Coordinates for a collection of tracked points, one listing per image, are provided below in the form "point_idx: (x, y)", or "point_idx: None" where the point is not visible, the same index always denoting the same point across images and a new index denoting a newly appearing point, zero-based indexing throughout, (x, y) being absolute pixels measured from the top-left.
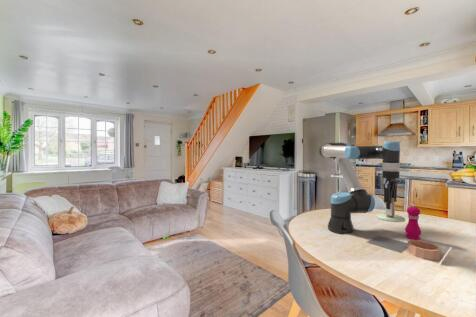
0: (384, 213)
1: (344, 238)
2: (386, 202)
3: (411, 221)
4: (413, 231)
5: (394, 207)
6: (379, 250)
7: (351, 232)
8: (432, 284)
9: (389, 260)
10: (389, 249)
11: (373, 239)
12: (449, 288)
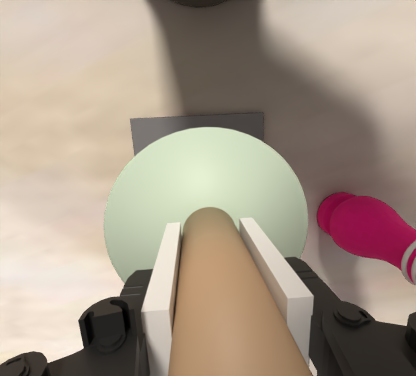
0: (282, 161)
1: (96, 17)
2: (77, 358)
3: (388, 248)
4: (338, 238)
5: None
6: (109, 183)
7: (189, 2)
8: (23, 347)
9: (58, 238)
10: None
11: (191, 123)
12: None
